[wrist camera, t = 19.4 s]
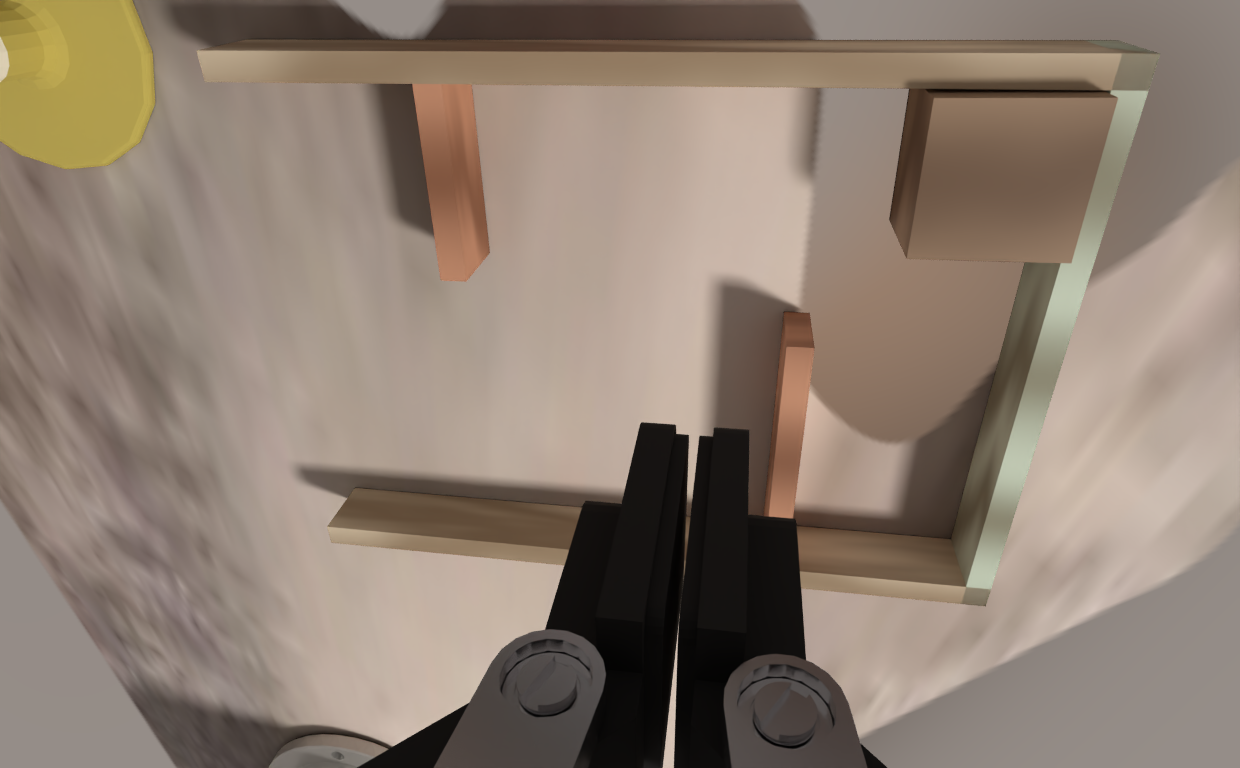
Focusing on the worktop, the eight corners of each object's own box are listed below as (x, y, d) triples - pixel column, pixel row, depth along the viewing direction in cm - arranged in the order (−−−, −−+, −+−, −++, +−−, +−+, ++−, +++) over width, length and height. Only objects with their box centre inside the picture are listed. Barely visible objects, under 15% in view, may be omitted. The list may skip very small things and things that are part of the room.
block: (1033, 222, 28) (1071, 263, 24) (889, 219, 29) (906, 259, 25) (1069, 75, 25) (1118, 97, 22) (911, 75, 26) (933, 98, 23)
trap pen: (969, 557, 36) (985, 606, 33) (358, 503, 40) (331, 542, 37) (1117, 40, 24) (1160, 53, 22) (246, 39, 29) (196, 50, 26)
